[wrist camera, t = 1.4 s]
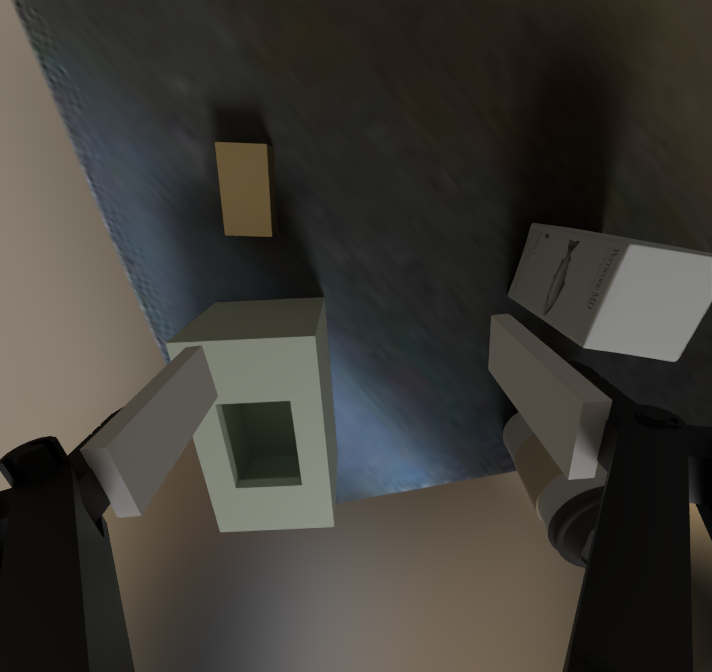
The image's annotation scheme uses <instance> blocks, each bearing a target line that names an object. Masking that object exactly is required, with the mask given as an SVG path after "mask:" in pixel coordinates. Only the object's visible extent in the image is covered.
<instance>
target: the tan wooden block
mask: <svg viewBox="0 0 712 672" xmlns="http://www.w3.org/2000/svg"><path fill="white" fill-rule="evenodd" d="M215 149H216V158H217V167H218V176H219V185H220V194H221V203H222V212H223V221H224V231H225V235H231V236H260V237H273V236H274V235H276V234H278V218H277V198H276V179H275V159H274V148H273V147H271V146H269V145H267V144H252V143H228V142H215Z"/></svg>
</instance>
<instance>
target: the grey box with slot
mask: <svg viewBox="0 0 712 672" xmlns="http://www.w3.org/2000/svg"><path fill="white" fill-rule="evenodd" d="M166 345H167V349H168V352H169V356H170V359H171V361H172V360H173V359H174V358H175V357H176V356H177V355H178V354H179V353H180V352H181V351H182V350H183V349H184V348H185V347H192V346H201V345H202V347H203V350H204V354H205V357H206V360H207V363H208V366H209V369H210V372H211V375H212V378H213V381H214V384H215V387H216V391H217V394H218V397H217V399H216V400H215V402H214V403H213V405H212V406H211V408H210V410H209V411H208V413H207V414H206V416H205V417H204V419H203V420H202V422H201V424H200V425H199V427H198V428H197V430H196V431H195V433H194V435H193V439H194V443H195V446H196V450H197V453H198V456H199V460H200V463H201V467H202V470H203V474H204V477H205V481H206V484H207V488H208V491H209V495H210V498H211V502H212V505H213V508H214V512H215V515H216V519H217V522H218V526H219V529H220V532H234V531H255V530H277V529H298V528H319V527H334V521H335V500H336V478H337V457H338V452H337V440H336V428H335V416H334V404H333V393H332V381H331V369H330V357H329V345H328V333H327V322H326V310H325V298H324V297H315V298H294V299H274V300H253V301H232V302H215V303H214V304H212V305H211V306H210V307H209V308H208V309H206V310H205V311H204V312H203V313H202V314H200V315H199V316H198V317H197V318H196V319H194V320H193V321H192V322H191V323H190V324H188V325H187V326H186V327H185V328H184V329H182V330H181V331H180V332H179V333H178V334H176V335H175V336H174V337H173V338H172V339H170V340H169V341H168V342H167V343H166Z"/></svg>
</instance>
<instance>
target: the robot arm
mask: <svg viewBox="0 0 712 672" xmlns="http://www.w3.org/2000/svg"><path fill="white" fill-rule="evenodd" d="M488 370H489V371H490V373H491V374H492V375H493V377H494V378H495V379H496V381H497V382H498V384H499V385H500V386H501V388H502V389H503V391H504V392H505V393H506V395H507V396H508V397H509V399H510V400H511V402H512V403H513V404H514V406H515V407H516V408H517V410H518V411H519V413H520V414H521V415H522V417H523V418H524V419H525V421H526V422H527V424H528V425H529V426H530V428H531V429H532V431H533V432H534V433H535V435H536V436H537V437H538V439H539V440H540V442H541V443H542V444H543V446H544V447H545V448H546V450H547V451H548V453H549V454H550V455H551V457H552V458H553V460H554V461H555V462H556V464H557V465H558V466H559V468H560V469H561V471H562V472H563V473H564V475H565V476H566V477H567V479H568V480H572V479H584V478H594V477H595V473H596V469H597V464H598V462H599V463H600V464H601V465H602V467H603V468H604V469H605V470H606V471H607V472H608V473H607V477H606V481H605V485H604V489H603V493H602V497H601V503H600V508H599V512H598V517H597V521H596V526H595V530H594V535H593V539H592V543H591V548H590V552H589V557H588V561H587V566H586V570H585V574H584V579H583V583H582V588H581V592H580V597H579V601H578V606H577V610H576V614H575V619H574V624H573V628H572V632H571V637H570V641H569V645H568V650H567V654H566V659H565V663H564V668H563V672H693V652H692V611H691V609H692V608H691V563H690V519H689V518H690V515H689V503H695V504H696V506H697V508H698V511H699V513H700V515H701V517H702V520H703V522H704V524H705V527H706V529H707V531H708V533H709V536H710V538H711V540H712V428H711V427H702V426H692V425H686V423H685V422H684V421H683V420H682V419H681V418H680V417H678V416H677V415H675V414H673V413H671V412H669V411H667V410H664V409H661V408H658V407H655V406H648V405H637V404H636V403H635V402H634V401H632V400H631V399H630V398H628V397H627V396H626V395H625V394H623V393H622V392H621V391H619V390H618V389H617V388H616V387H614V386H613V385H612V384H609V382H608V381H607V380H605V379H604V378H603V377H600V375H599V374H598V373H596V372H595V371H594V370H592V369H591V368H590V367H587V366H585V365H583V364H581V363H578V362H576V361H572V362H566V361H565V360H563V359H562V358H561V357H560V356H559V355H557V354H556V353H555V352H554V351H553V350H552V349H550V348H549V347H548V346H547V345H546V344H544V343H543V342H542V341H541V340H540V339H538V338H537V337H536V336H535V335H534V334H532V333H531V332H530V331H529V330H528V329H526V328H525V327H524V326H523V325H522V324H520V323H519V322H518V321H517V320H516V319H514V318H513V317H512V316H511V315H510V314H501V315H491V330H490V349H489V367H488ZM217 397H218V394H217V391H216V387H215V384H214V381H213V378H212V375H211V372H210V369H209V366H208V363H207V360H206V357H205V354H204V350H203V347H202V345H201V346H192V347H185V348H184V349H183V350H182V351H181V352H180V353H179V354H178V355H177V356H176V357H175V358H174V359H173V360H172V361H171V362H170V363H169V364H168V365H167V366H166V367H165V368H164V369H163V370H161V372H159V373H158V374H157V376H155V377H154V378H153V379H152V380H151V381H150V382H149V383H148V384H147V385H146V386H145V387H144V388H143V389H142V390H141V391H140V392H139V393H138V394H137V395H136V396H135V397H134V398H133V399H132V400H131V401H130V402H128V403H127V405H125V406H124V407H123V408H121V409H119V410H118V411H116V412H115V413H113V414H111V415H110V416H109V417H108V418H107V419H106V420H105V421H104V422H103V423H102V424H101V426H98V427H97V428H96V429H95V430H94V431H93V432H92V434H90V435H89V436H88V437H87V438H86V439H85V440H84V441H83V442H81V444H79V445H78V446H77V447H76V448H75V449H74V450H73V451H72V452H71V453H70V454H69V455H68V456H67V454H66V453H65V451H64V449H63V448H62V446H61V444H60V443H59V441H58V439H57V438H56V437H52V436H48V437H41V438H38V439H35V440H32V441H29V442H27V443H25V444H23V445H20V446H18V447H17V448H15V449H13V450H12V451H10V452H9V453H7V454H6V455H5V456H4V457H3V458H1V459H0V471H1V473H2V474H3V476H4V477H5V478H6V480H7V481H8V482H9V484H10V486H11V487H12V488H10V489H7V490H3V491H0V672H135V671H134V666H133V660H132V654H131V649H130V644H129V638H128V634H127V628H126V623H125V618H124V612H123V607H122V602H121V597H120V591H119V585H118V580H117V575H116V570H115V564H114V559H113V555H112V548H111V543H110V538H109V533H108V528H107V523H106V521H105V519H104V518H103V516H102V514H103V513H104V512H105V510H106V509H107V507H108V506H109V505H111V506H112V508H113V510H114V511H115V513H116V515H117V517H118V518H120V517H132V516H141V515H142V514H143V513H144V511H145V509H146V508H147V506H148V505H149V503H150V502H151V500H152V499H153V497H154V495H155V494H156V492H157V491H158V489H159V487H160V486H161V484H162V483H163V481H164V480H165V478H166V476H167V475H168V474H169V472H170V470H171V469H172V467H173V466H174V464H175V463H176V461H177V459H178V458H179V456H180V455H181V453H182V452H183V450H184V449H185V447H186V445H187V444H188V442H189V441H190V439H191V438H192V436H193V435H194V433H195V431H196V430H197V428H198V427H199V425H200V424H201V422H202V420H203V419H204V417H205V416H206V414H207V413H208V411H209V410H210V408H211V406H212V405H213V403H214V402H215V400H216V399H217Z"/></svg>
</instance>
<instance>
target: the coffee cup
mask: <svg viewBox="0 0 712 672" xmlns="http://www.w3.org/2000/svg"><path fill="white" fill-rule="evenodd" d="M503 440H504V443H505V445H506V447H507V449H508V451H509V453H510V455H511V457H512V459H513V461H514V463H515V467H516V470H517V472H518V474H519V476H520V478H521V480H522V482H523V484H524V487H525V489H526V491H527V493H528V495H529V497H530V499H531V502H532V504H533V506H534V508H535V510H536V512H537V514H538V516H539V518H540V519H541V521H542V522H543V523H544V525H545V527H546V529H547V531H548V538H549V541H550V543H551V544H552V546H553V547H554V548H555V549H556V550H558V552H559V553H560V555H561V556H562V557H563V558H564V559H565V560H566V561H568V562H570V563H572V564H574V565H576V566H579V567H584V568H585V569H586V566H587V561H588V557H589V552H590V548H591V543H592V539H593V535H594V530H595V526H596V521H597V517H598V512H599V508H600V503H601V497H602V493H603V489H604V485H605V481H606V477H607V473H608V472H607V471H606V470H605V469H604V468H603V467H602V465H601V464H600V463H599V462H598V464H597V469H596V473H595V477H594V478H584V479H572V480H568V479H567V477H566V476H565V475H564V473H563V472H562V471H561V469H560V468H559V466H558V465H557V464H556V462H555V461H554V460H553V458H552V457H551V455H550V454H549V453H548V451H547V450H546V448H545V447H544V446H543V444H542V443H541V442H540V440H539V439H538V437H537V436H536V435H535V433H534V432H533V431H532V429H531V428H530V426H529V425H528V424H527V422H526V421H525V419H524V418H523V417H522V415H521V414H520V413H519V412H518V413H516V414H515V415H514V416H513V417H511V418H510V420H509V421H508V422H507V424H506V425H505V427H504V430H503Z"/></svg>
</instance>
